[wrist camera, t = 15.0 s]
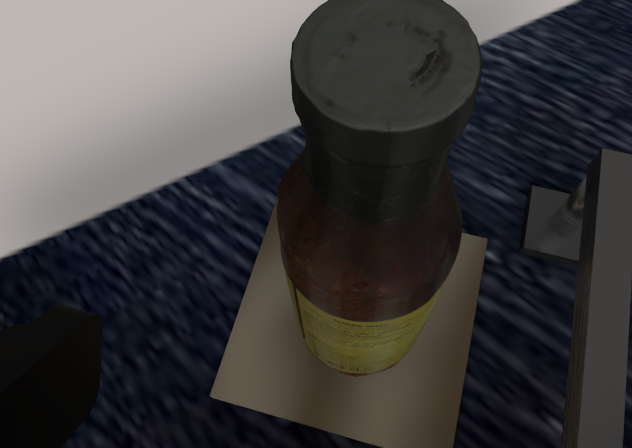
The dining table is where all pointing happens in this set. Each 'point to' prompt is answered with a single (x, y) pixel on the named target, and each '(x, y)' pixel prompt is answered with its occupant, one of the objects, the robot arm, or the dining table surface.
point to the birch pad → (342, 390)
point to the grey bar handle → (591, 291)
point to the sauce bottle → (374, 174)
